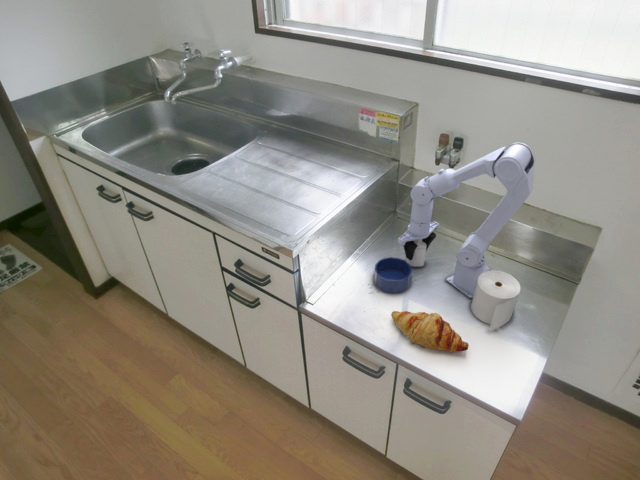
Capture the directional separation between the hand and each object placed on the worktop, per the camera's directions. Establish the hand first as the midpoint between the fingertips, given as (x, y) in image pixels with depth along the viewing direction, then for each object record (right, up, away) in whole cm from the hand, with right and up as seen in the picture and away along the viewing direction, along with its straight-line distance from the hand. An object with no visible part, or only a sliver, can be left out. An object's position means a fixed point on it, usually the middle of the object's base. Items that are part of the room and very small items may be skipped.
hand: (415, 254), depth 138 cm
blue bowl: (-8, -8, -4) cm, 12 cm away
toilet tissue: (+18, -15, -15) cm, 28 cm away
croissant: (-1, -20, -20) cm, 29 cm away
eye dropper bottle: (0, -3, +2) cm, 4 cm away
